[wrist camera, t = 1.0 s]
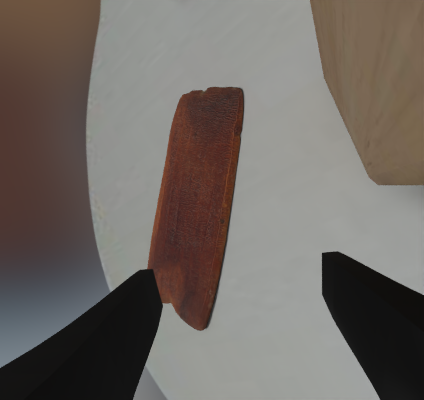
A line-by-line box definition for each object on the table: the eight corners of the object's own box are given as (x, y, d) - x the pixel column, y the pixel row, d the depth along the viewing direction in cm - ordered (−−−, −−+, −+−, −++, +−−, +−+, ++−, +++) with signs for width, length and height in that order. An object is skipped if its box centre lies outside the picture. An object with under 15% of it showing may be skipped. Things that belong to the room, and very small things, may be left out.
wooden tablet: (210, 332, 25) (203, 341, 24) (150, 293, 30) (140, 298, 28) (260, 88, 20) (254, 80, 19) (178, 89, 25) (169, 83, 24)
